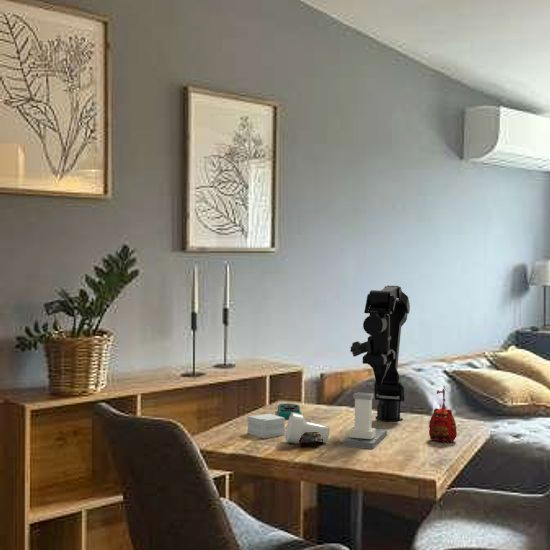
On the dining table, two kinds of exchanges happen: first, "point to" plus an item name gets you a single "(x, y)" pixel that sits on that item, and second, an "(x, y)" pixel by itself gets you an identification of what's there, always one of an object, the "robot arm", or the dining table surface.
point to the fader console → (366, 440)
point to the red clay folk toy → (442, 424)
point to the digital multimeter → (288, 410)
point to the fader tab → (363, 416)
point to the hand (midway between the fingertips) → (378, 385)
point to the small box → (266, 425)
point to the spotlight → (303, 428)
